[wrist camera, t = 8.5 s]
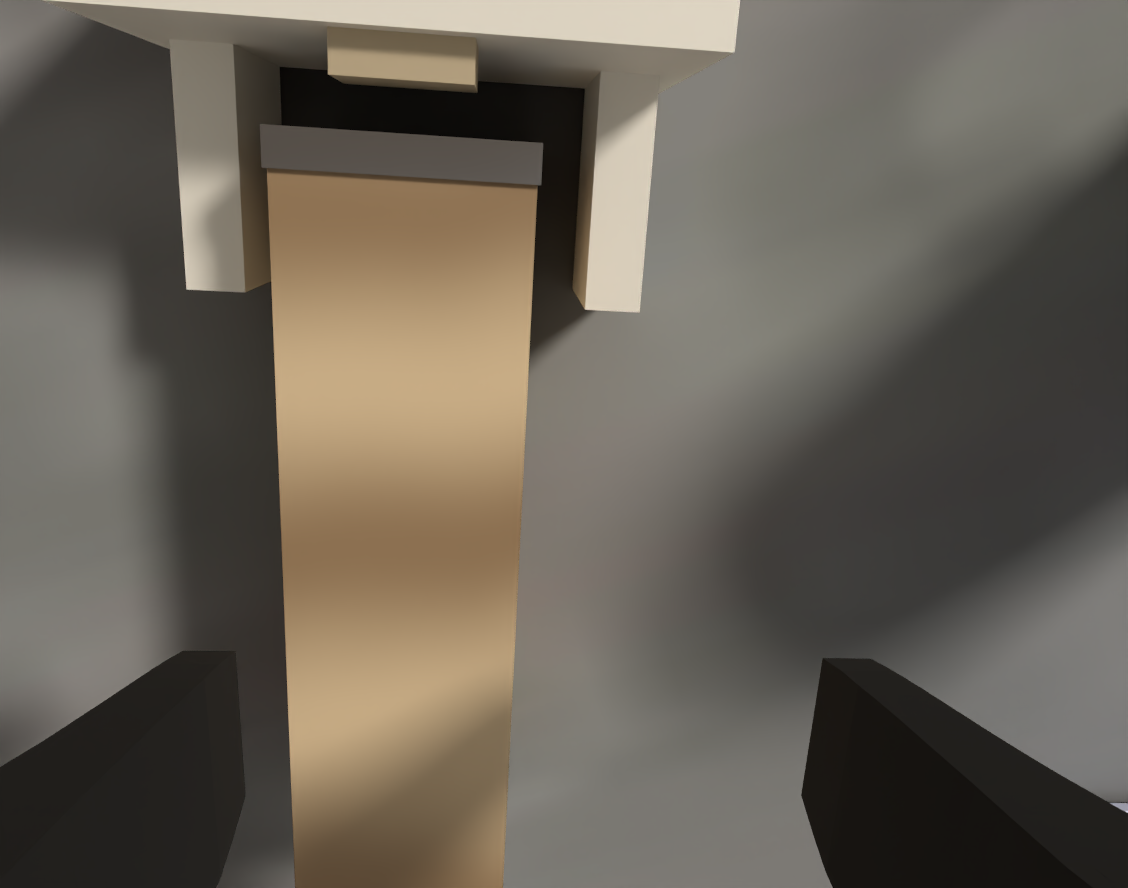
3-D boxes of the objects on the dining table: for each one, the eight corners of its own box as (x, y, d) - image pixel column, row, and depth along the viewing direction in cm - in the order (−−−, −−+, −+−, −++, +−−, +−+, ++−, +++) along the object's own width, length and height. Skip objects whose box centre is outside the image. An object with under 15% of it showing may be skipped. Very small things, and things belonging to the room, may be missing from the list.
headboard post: (641, 292, 18) (702, 344, 13) (212, 270, 18) (73, 314, 12) (670, -40, 17) (756, -152, 11) (191, -79, 16) (16, -224, 10)
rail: (504, 736, 22) (504, 898, 17) (340, 735, 21) (291, 900, 16) (532, 152, 18) (543, 143, 13) (328, 138, 17) (260, 123, 12)
